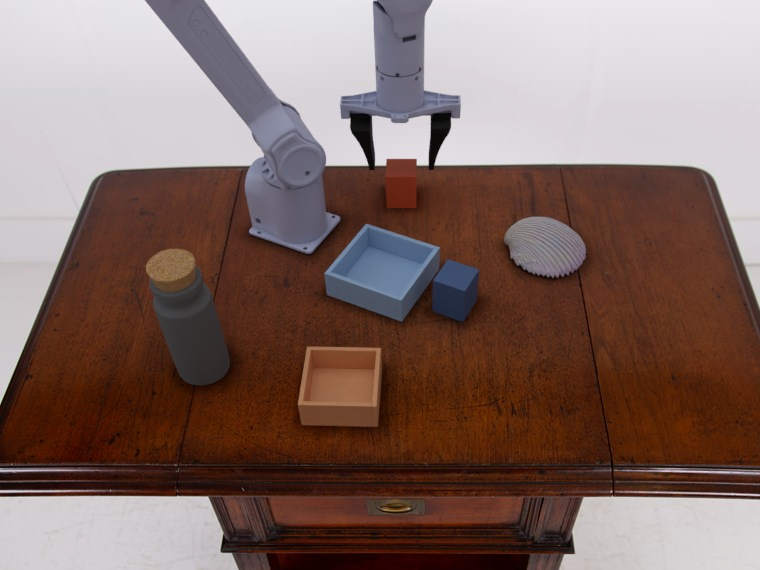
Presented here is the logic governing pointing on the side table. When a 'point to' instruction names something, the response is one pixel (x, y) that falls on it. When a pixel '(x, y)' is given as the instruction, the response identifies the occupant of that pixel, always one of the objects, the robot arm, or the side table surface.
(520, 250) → the seashell
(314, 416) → the warm bin
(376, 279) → the bin
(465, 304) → the slate block
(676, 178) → the side table surface
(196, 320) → the bottle
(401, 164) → the terracotta block
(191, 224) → the side table surface
